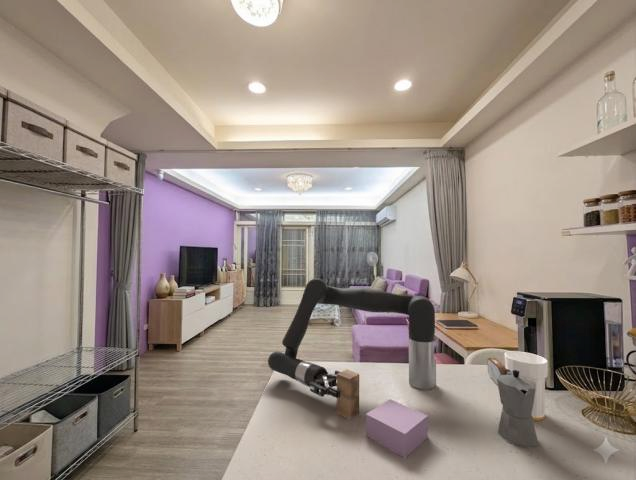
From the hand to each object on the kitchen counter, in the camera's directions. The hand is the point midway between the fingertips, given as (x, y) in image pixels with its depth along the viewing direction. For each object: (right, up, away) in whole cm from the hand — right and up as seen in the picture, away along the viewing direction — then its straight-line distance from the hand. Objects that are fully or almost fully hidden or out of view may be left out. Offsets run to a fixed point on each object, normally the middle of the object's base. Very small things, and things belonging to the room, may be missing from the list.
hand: (347, 389), depth 92 cm
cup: (+57, -8, +1) cm, 57 cm away
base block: (+12, -7, -12) cm, 18 cm away
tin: (+61, -9, +22) cm, 65 cm away
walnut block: (0, -7, 0) cm, 7 cm away
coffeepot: (+46, -7, -11) cm, 47 cm away
